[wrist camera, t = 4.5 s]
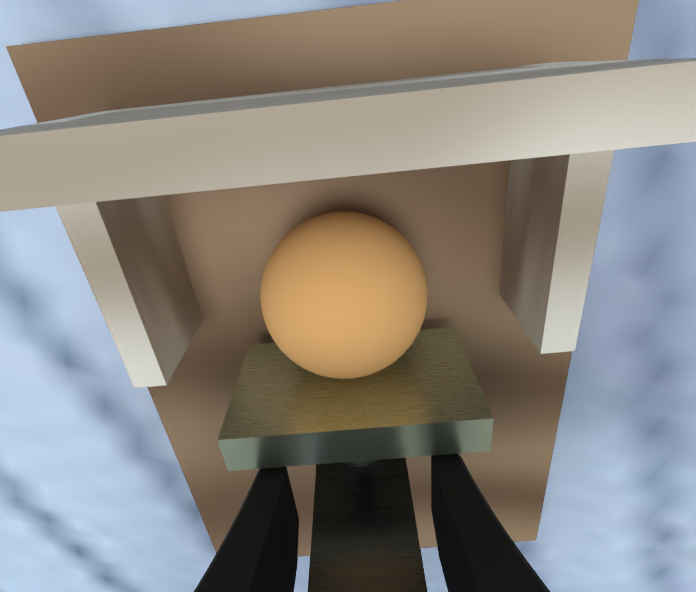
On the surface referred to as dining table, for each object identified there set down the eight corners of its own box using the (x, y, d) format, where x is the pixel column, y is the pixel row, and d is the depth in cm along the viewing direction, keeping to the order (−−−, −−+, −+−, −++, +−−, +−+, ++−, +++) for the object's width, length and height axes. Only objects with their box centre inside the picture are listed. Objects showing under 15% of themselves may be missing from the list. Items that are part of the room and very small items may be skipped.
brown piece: (531, 529, 19) (596, 688, 14) (223, 550, 19) (183, 710, 15) (630, -24, 9) (934, -119, 5) (20, 47, 10) (-287, 28, 5)
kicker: (450, 446, 15) (548, 787, 8) (278, 460, 15) (221, 802, 8) (454, 327, 12) (597, 661, 5) (249, 345, 12) (133, 688, 6)
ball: (452, 316, 7) (419, 166, 10) (228, 335, 8) (246, 184, 10) (433, 396, 11) (411, 271, 13) (277, 409, 11) (282, 283, 13)
